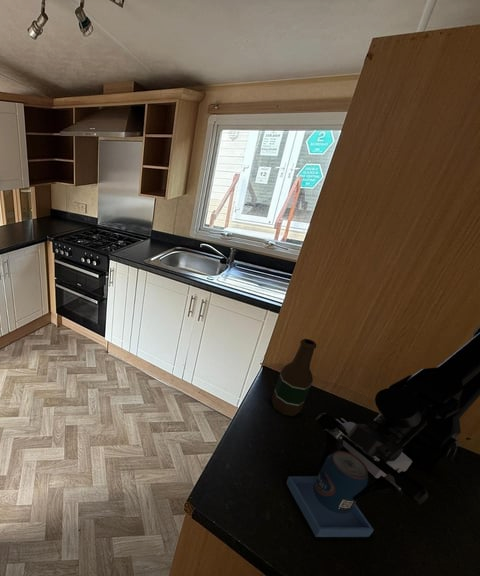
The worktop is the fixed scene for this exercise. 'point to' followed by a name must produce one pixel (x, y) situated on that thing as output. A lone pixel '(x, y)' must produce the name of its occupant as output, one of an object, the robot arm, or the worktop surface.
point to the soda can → (340, 482)
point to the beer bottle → (294, 381)
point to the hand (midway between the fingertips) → (336, 482)
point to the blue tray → (326, 512)
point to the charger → (398, 464)
